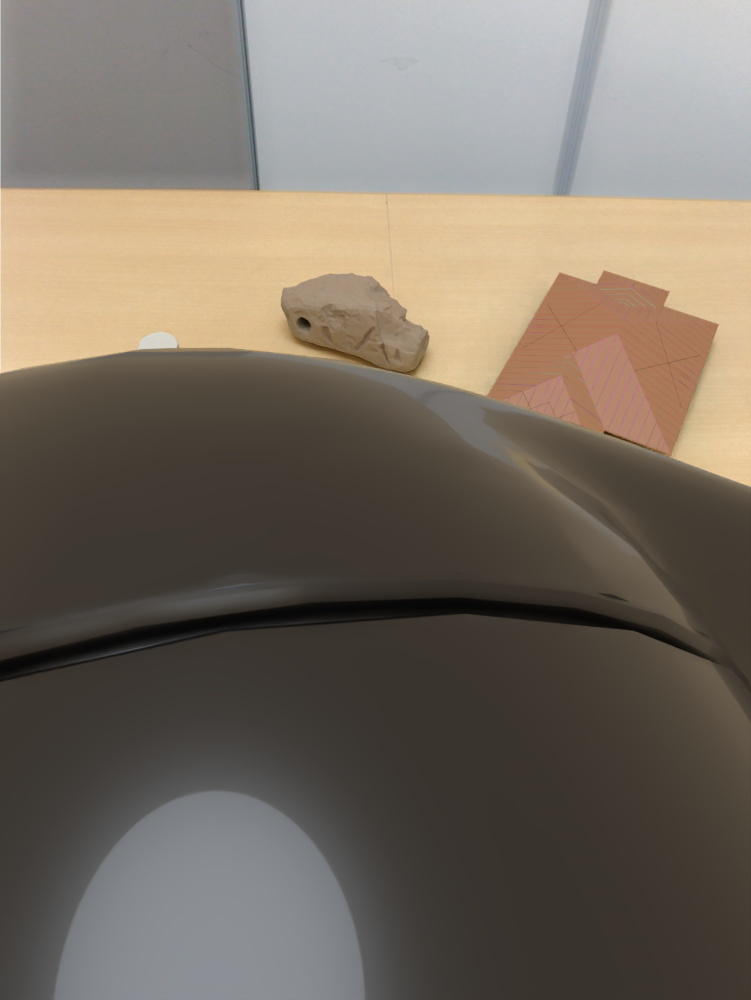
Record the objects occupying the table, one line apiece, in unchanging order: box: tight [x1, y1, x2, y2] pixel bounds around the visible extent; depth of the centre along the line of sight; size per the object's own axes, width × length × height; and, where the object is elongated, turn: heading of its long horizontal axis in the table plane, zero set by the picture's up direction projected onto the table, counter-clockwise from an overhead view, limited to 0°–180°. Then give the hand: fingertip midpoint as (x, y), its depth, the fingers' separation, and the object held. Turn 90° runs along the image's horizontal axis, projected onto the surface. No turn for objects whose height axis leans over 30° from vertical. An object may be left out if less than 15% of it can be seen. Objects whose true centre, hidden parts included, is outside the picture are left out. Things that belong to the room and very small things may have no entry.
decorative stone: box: [280, 272, 430, 373], centre depth 98 cm, size 20×8×10 cm, turn 66°
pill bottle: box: [137, 331, 180, 350], centre depth 92 cm, size 6×6×10 cm
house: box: [486, 270, 720, 457], centre depth 96 cm, size 23×33×8 cm
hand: (504, 676), depth 43 cm, fingers open, 8 cm apart
